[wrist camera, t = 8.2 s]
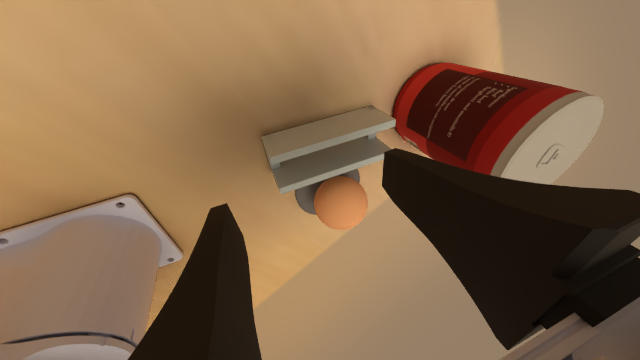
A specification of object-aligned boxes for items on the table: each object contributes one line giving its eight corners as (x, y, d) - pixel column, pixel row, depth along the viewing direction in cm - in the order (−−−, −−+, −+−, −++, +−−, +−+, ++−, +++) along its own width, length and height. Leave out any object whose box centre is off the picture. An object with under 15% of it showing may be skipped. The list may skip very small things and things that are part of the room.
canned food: (448, 130, 26) (560, 186, 18) (386, 148, 24) (479, 220, 16) (469, 53, 21) (634, 81, 13) (394, 68, 19) (532, 112, 11)
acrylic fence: (271, 170, 21) (280, 194, 18) (260, 136, 18) (269, 157, 16) (371, 139, 23) (392, 156, 20) (371, 105, 21) (396, 119, 18)
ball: (310, 213, 25) (330, 249, 21) (302, 176, 22) (324, 211, 18) (352, 196, 26) (378, 227, 22) (349, 159, 23) (379, 188, 19)
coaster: (302, 221, 26) (302, 223, 25) (289, 170, 21) (289, 171, 21) (358, 200, 27) (360, 201, 27) (357, 148, 23) (359, 149, 22)
